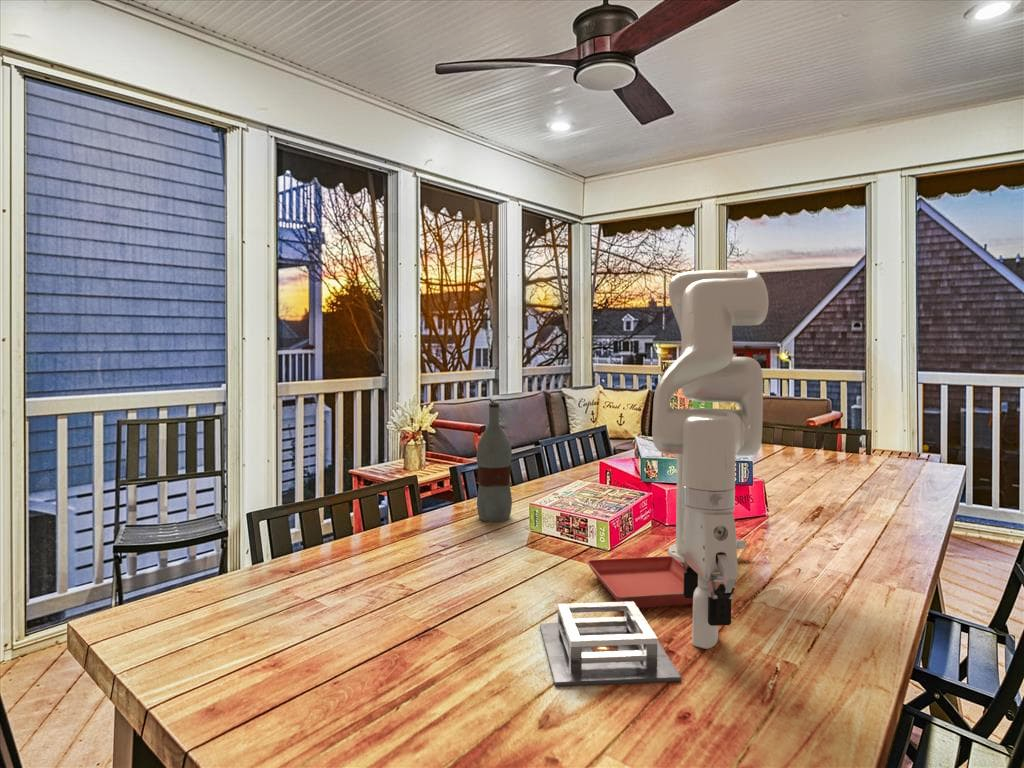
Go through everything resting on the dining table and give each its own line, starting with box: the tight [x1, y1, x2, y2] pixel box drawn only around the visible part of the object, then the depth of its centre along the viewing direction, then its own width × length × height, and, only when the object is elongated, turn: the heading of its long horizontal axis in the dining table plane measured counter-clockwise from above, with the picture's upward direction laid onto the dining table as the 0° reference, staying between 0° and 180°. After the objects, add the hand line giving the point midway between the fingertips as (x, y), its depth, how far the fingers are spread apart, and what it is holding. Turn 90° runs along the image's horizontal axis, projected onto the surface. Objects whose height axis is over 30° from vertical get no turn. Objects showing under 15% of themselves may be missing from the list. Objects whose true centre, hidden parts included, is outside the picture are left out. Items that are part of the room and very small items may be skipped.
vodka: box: [476, 402, 513, 522], centre depth 158 cm, size 9×9×30 cm
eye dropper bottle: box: [691, 574, 719, 650], centre depth 92 cm, size 4×6×12 cm
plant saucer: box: [586, 555, 693, 609], centre depth 112 cm, size 18×18×3 cm
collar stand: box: [539, 601, 682, 687], centre depth 89 cm, size 17×17×5 cm
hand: (705, 610), depth 92 cm, fingers open, 9 cm apart
